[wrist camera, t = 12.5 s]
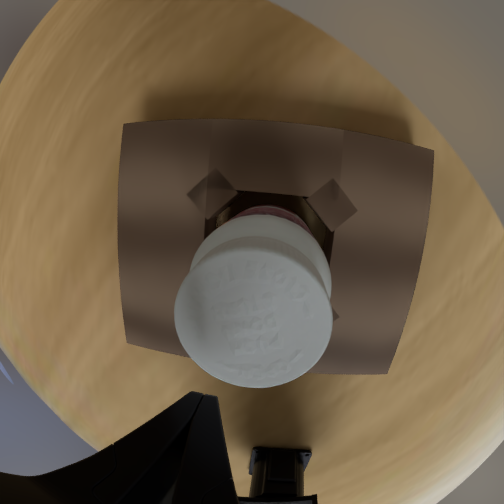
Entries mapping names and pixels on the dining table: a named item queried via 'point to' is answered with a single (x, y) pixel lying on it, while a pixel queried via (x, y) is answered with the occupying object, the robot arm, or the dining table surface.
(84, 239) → the dining table surface
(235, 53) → the dining table surface
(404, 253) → the socket board
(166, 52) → the dining table surface
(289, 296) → the pill bottle
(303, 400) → the dining table surface
